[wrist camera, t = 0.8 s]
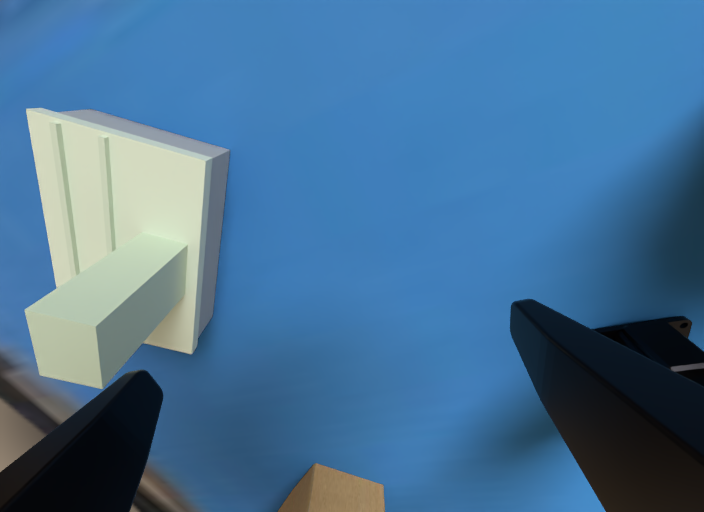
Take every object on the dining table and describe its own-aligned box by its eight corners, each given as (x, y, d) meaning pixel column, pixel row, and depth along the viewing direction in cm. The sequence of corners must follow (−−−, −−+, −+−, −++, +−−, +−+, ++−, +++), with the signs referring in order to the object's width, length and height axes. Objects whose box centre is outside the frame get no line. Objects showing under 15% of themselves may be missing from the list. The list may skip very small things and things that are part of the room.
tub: (230, 149, 20) (208, 160, 17) (212, 316, 26) (194, 343, 23) (91, 109, 19) (45, 113, 16) (106, 290, 25) (75, 314, 22)
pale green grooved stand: (212, 157, 17) (104, 209, 10) (197, 345, 23) (123, 458, 16) (40, 107, 16) (-206, 126, 9) (72, 316, 22) (-61, 421, 15)
